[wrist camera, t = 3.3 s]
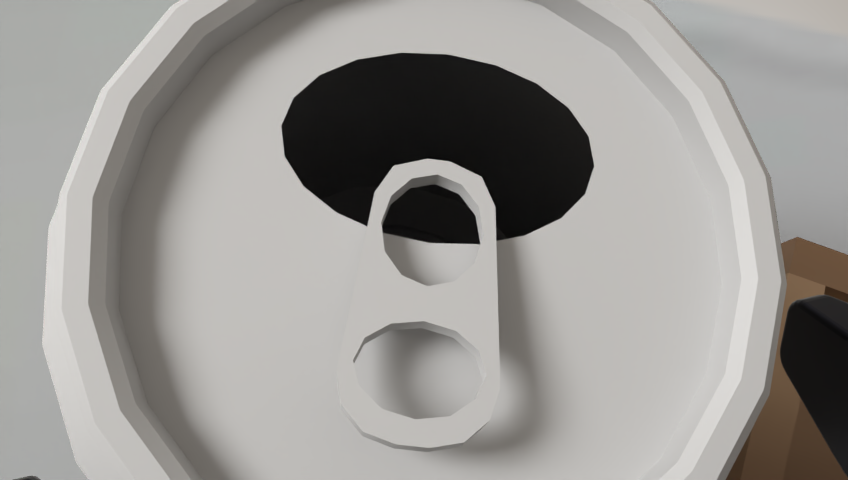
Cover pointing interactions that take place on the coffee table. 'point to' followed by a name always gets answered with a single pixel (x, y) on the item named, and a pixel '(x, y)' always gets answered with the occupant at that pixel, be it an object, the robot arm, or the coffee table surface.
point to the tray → (784, 410)
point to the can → (413, 249)
